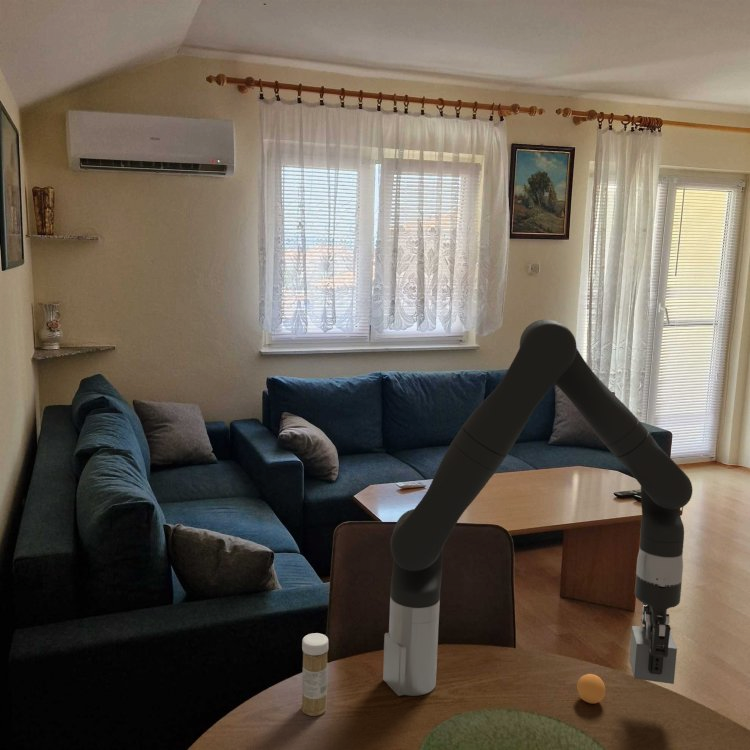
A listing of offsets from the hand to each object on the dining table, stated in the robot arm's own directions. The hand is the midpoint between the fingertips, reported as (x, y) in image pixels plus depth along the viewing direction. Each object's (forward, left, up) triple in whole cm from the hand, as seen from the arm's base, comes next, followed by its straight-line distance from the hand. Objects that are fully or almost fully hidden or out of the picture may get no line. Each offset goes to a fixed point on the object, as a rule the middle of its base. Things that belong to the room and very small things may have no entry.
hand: (651, 662), depth 129 cm
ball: (-8, +6, -7) cm, 12 cm away
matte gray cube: (0, 0, -2) cm, 2 cm away
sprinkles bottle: (-55, +25, -10) cm, 61 cm away
